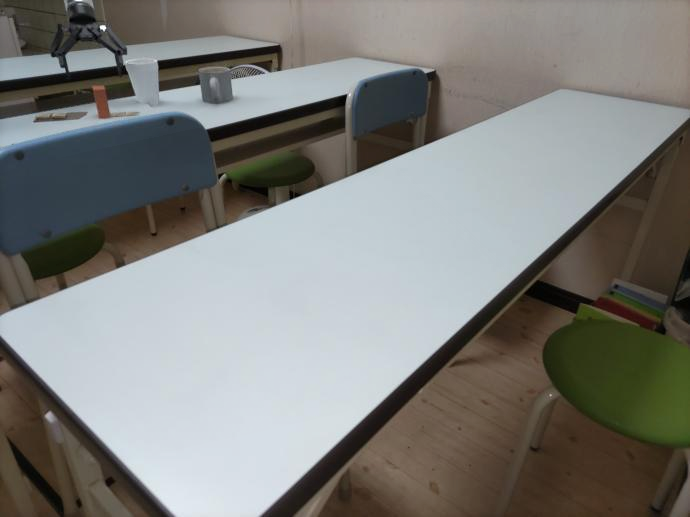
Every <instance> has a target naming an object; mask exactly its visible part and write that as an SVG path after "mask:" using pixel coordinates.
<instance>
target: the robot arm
mask: <svg viewBox="0 0 690 517" xmlns="http://www.w3.org/2000/svg"><path fill="white" fill-rule="evenodd" d="M63 2H64V7H65V11H66V16H67V17H66V18H67V21H68V25H67V26H66V25H62V23H57V25H56V26H57V28H56V29H57V30H56V33H55V35H54V37H53V39H52V42H51V45H50V47H49V49H48V50H49V55H50V57H51V58H53V59H54V58H57V59H58V63H59V67H60V69H65V75H66V79H67V81H71V75H70V70H69V66H68V61H67V54H68V53H69V52H70V51H71V50H72V48H73V47H74V46H75V45H77V44H78V43H79V42H81V43H85V42H90V43H91V42H94V41H95V42H96V43H98V44H100V45H102V46H103V47H104V48H105V49H107V50H108V51H110V52H111V53H112V54H113V55H114V60H115V64H116V68H117V72H118V73H117V74H118V77H119V78H123V72H122V68H121V67H123V66H124V65H125V62H124V57H123V56H127V55H128V47H127V46H126V45H125V43H124V42H123V41H122V40H121V39H120V37H118V35H117V34H116V33H115V32H114V31H113V30H112V28H111V24H110V23H108V22H105V24H104V25H100V24H99V23H98V20H97V16H96V11H95V7H94V2H93V0H63ZM68 32H69V36H68V38H67V39H65V41H64V42H63V40H64V36H66V35H67V33H68ZM101 32H103V33H104V34H105V35H107V37H108V38H109V39H110V40H109V39H108V38H106V37H105V36H103V34H102V33H101ZM62 42H63V43H62Z"/></svg>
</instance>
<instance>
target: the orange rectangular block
mask: <svg viewBox="0 0 690 517" xmlns="http://www.w3.org/2000/svg"><path fill="white" fill-rule="evenodd" d="M91 87H92V91H93V97H94V102H95V105H96V110H97V114H98V118H99V120H101V119H111V118H112V115H111V111H110V106H109V101H108V97H107V91H106V87H105V85H103V84H102V85H92V86H91Z"/></svg>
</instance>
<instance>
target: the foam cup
mask: <svg viewBox="0 0 690 517" xmlns="http://www.w3.org/2000/svg"><path fill="white" fill-rule="evenodd" d="M124 65H125V69H126V71H127V74H128V77H129V80H130V83H131V86H132V89H133V92H134V95H135V98H136V101H137V103H141V104H148V105H149V107H156V106H159V105H160V85H159V84H160V82H159V63H158V60H157V59H154V58H134V59H133V58H132V59H128V60H125V61H124ZM155 105H156V106H155Z"/></svg>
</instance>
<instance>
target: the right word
mask: <svg viewBox="0 0 690 517" xmlns="http://www.w3.org/2000/svg"><path fill="white" fill-rule="evenodd" d="M135 116H136V117H138V116H140V111H122V112H121V111H120V112H119V111H117V112H112V114H111V118H121V117H135ZM96 117H99V115H98V113H97V114H96Z"/></svg>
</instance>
